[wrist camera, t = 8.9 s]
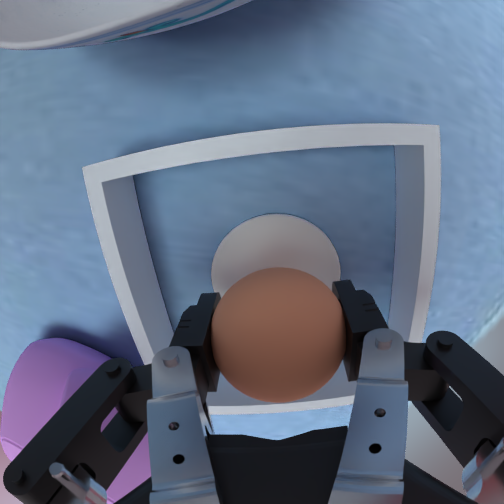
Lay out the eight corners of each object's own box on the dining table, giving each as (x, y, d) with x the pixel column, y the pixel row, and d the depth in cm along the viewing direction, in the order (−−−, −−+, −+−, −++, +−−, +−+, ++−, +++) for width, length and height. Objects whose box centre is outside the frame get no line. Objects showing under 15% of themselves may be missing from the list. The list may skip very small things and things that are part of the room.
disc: (201, 221, 14) (199, 223, 14) (337, 207, 14) (339, 208, 13) (224, 331, 17) (223, 335, 16) (339, 321, 16) (339, 324, 16)
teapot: (241, 358, 18) (220, 538, 7) (146, 462, 25) (121, 548, 14) (51, 247, 15) (-80, 356, 5) (35, 400, 22) (-11, 475, 12)
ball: (210, 253, 12) (179, 325, 8) (333, 240, 12) (369, 307, 7) (230, 347, 14) (217, 431, 10) (333, 338, 14) (354, 420, 9)
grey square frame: (114, 158, 13) (81, 167, 10) (407, 124, 12) (439, 125, 9) (178, 378, 18) (167, 412, 16) (393, 360, 17) (407, 393, 14)
